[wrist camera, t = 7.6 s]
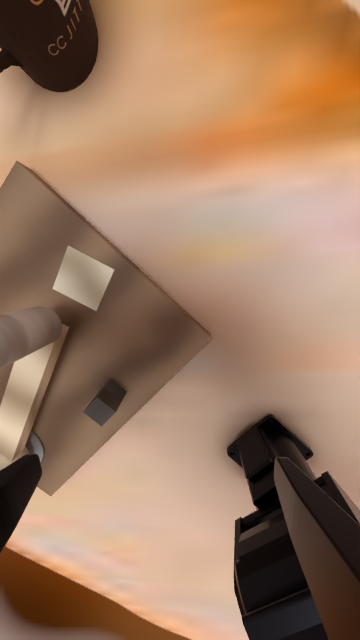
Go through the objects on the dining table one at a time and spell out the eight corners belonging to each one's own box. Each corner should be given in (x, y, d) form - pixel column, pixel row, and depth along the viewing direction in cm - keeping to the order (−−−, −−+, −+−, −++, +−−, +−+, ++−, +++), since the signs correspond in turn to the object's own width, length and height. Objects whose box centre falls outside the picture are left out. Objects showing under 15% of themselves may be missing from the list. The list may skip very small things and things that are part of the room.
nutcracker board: (210, 334, 20) (215, 351, 16) (59, 483, 25) (31, 527, 21) (31, 169, 18) (-22, 136, 13) (-95, 372, 23) (-162, 396, 19)
